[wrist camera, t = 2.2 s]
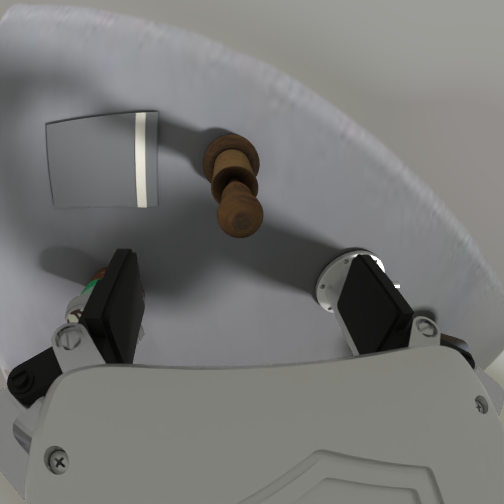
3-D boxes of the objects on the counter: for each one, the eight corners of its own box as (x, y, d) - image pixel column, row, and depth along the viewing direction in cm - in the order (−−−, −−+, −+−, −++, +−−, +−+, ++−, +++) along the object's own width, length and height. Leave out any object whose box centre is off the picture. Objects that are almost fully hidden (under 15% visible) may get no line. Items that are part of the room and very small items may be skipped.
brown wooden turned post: (201, 136, 30) (181, 176, 15) (256, 132, 31) (295, 167, 15) (206, 188, 33) (196, 272, 18) (258, 184, 34) (292, 264, 19)
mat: (158, 111, 28) (157, 111, 27) (158, 204, 34) (156, 207, 33) (49, 124, 25) (45, 125, 25) (57, 206, 31) (54, 208, 31)
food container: (152, 264, 38) (137, 311, 30) (153, 296, 41) (142, 344, 33) (78, 256, 36) (51, 298, 28) (85, 287, 39) (63, 330, 31)
